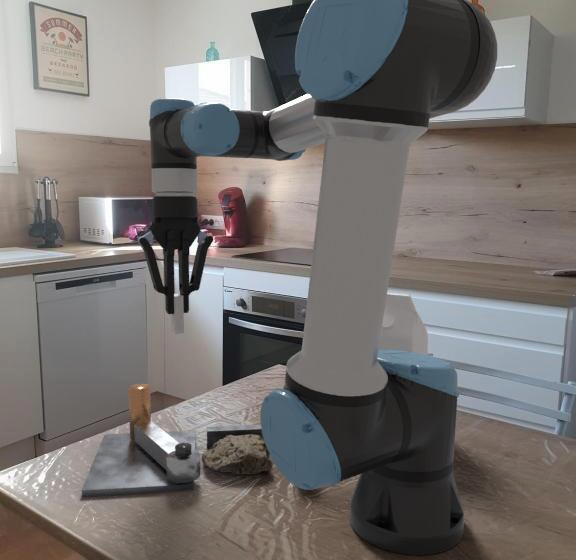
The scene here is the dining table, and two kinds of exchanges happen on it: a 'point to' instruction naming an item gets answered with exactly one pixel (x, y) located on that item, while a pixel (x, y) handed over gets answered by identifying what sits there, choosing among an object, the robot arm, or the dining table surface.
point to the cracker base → (146, 462)
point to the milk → (402, 326)
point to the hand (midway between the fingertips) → (177, 331)
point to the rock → (238, 455)
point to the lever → (158, 438)
